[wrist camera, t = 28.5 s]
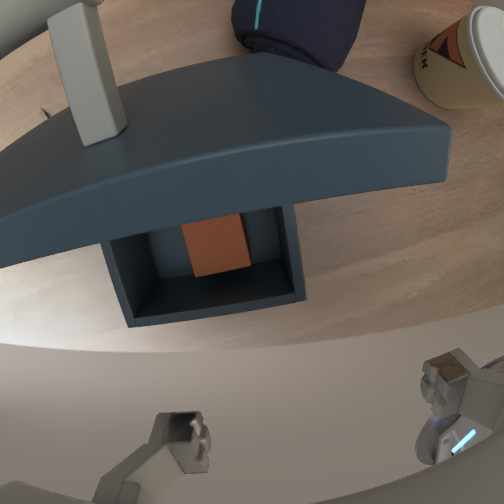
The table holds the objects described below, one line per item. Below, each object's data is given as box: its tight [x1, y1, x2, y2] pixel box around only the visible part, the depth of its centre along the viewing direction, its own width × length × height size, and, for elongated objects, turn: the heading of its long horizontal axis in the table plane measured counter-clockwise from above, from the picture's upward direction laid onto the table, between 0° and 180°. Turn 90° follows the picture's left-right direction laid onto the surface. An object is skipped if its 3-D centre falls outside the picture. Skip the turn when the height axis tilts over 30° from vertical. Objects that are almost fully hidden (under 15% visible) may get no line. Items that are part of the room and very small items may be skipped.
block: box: [181, 213, 251, 277], centre depth 26 cm, size 5×5×5 cm
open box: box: [101, 204, 307, 328], centre depth 24 cm, size 17×14×9 cm
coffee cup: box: [413, 6, 504, 109], centre depth 19 cm, size 9×9×12 cm
